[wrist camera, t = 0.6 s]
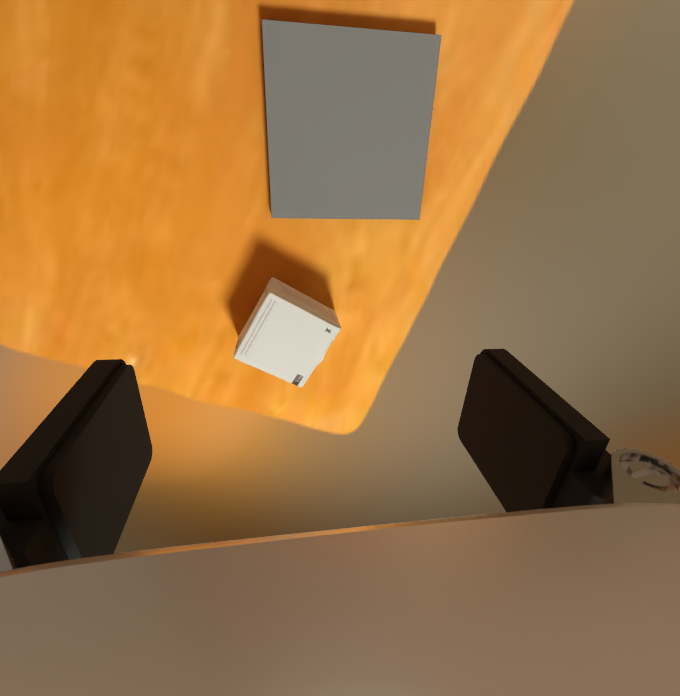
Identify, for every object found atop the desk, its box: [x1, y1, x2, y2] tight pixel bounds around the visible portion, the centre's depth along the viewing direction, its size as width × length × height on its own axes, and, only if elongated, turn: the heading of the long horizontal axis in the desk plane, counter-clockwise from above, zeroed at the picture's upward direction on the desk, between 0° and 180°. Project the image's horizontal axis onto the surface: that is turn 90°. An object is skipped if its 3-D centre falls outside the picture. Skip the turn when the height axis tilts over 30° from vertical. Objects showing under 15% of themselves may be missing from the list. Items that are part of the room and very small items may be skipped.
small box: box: [234, 277, 341, 387], centre depth 38 cm, size 8×8×5 cm
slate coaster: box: [262, 19, 441, 220], centre depth 32 cm, size 14×14×1 cm
